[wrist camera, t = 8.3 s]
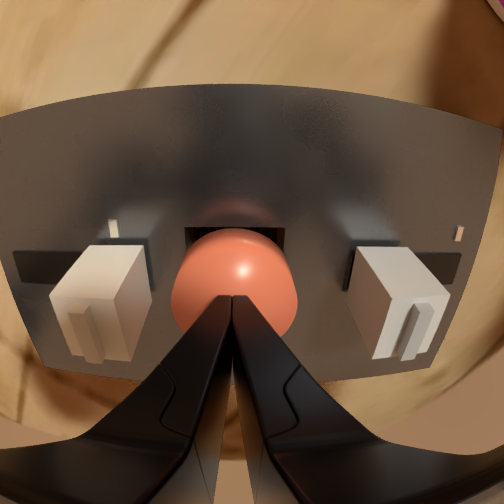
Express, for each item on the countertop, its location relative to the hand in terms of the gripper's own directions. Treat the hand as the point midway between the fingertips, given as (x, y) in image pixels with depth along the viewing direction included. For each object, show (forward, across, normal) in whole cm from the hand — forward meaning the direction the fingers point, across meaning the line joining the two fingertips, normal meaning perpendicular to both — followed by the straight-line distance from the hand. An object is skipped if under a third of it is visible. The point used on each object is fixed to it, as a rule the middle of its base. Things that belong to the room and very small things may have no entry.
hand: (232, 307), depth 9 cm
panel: (+4, 0, 0) cm, 4 cm away
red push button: (+3, 0, 0) cm, 3 cm away
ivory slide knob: (+2, +4, 0) cm, 4 cm away
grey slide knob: (+2, -5, 0) cm, 5 cm away
